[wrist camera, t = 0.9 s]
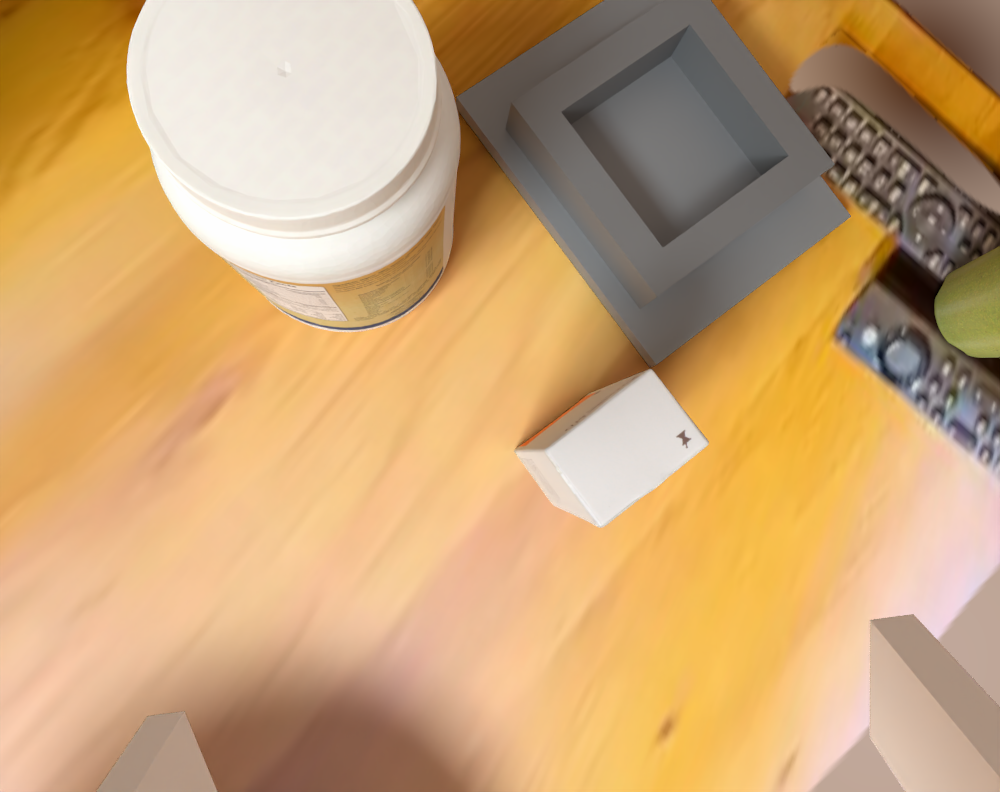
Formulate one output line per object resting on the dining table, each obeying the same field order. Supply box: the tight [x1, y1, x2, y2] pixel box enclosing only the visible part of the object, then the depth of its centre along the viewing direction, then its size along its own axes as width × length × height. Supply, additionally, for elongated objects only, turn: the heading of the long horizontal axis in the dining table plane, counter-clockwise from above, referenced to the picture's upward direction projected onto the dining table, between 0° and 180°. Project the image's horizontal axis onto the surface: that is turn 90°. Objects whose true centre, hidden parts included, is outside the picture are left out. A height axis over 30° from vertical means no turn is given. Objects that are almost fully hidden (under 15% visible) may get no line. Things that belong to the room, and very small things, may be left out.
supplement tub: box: [127, 0, 461, 332], centre depth 30 cm, size 12×12×17 cm
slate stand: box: [456, 0, 851, 367], centre depth 39 cm, size 20×16×4 cm
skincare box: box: [514, 369, 709, 528], centre depth 33 cm, size 6×4×12 cm
